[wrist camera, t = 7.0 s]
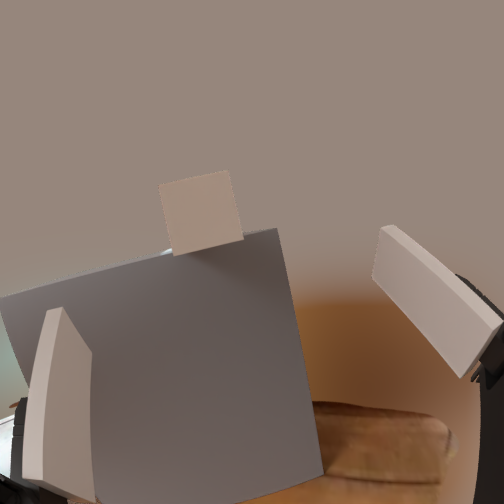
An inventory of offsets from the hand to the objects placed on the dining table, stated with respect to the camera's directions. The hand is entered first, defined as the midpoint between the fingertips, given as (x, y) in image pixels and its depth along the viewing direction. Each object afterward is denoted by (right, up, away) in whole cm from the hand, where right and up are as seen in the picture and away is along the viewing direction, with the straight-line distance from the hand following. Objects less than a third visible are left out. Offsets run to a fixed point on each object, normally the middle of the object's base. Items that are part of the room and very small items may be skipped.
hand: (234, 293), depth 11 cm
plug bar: (-4, +2, +15) cm, 15 cm away
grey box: (-6, -27, +23) cm, 36 cm away
